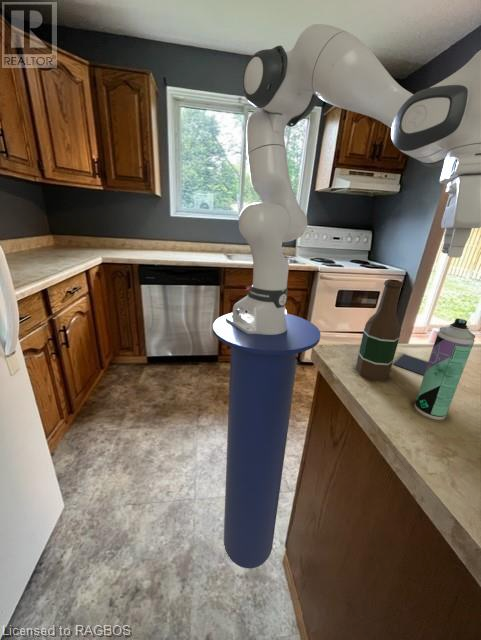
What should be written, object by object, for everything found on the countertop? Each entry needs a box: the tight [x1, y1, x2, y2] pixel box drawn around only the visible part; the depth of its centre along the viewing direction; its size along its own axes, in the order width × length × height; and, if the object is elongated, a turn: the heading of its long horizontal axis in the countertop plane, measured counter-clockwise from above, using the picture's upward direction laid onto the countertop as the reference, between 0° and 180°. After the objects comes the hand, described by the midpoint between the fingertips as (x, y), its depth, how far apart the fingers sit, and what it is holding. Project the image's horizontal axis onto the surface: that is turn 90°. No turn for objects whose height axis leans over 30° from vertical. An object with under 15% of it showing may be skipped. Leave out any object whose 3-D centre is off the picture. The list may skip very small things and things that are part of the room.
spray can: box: [413, 318, 476, 421], centre depth 52 cm, size 6×6×20 cm
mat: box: [393, 353, 428, 376], centre depth 74 cm, size 10×9×1 cm
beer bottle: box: [355, 278, 404, 382], centre depth 65 cm, size 8×8×24 cm
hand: (450, 255), depth 50 cm, fingers open, 8 cm apart
